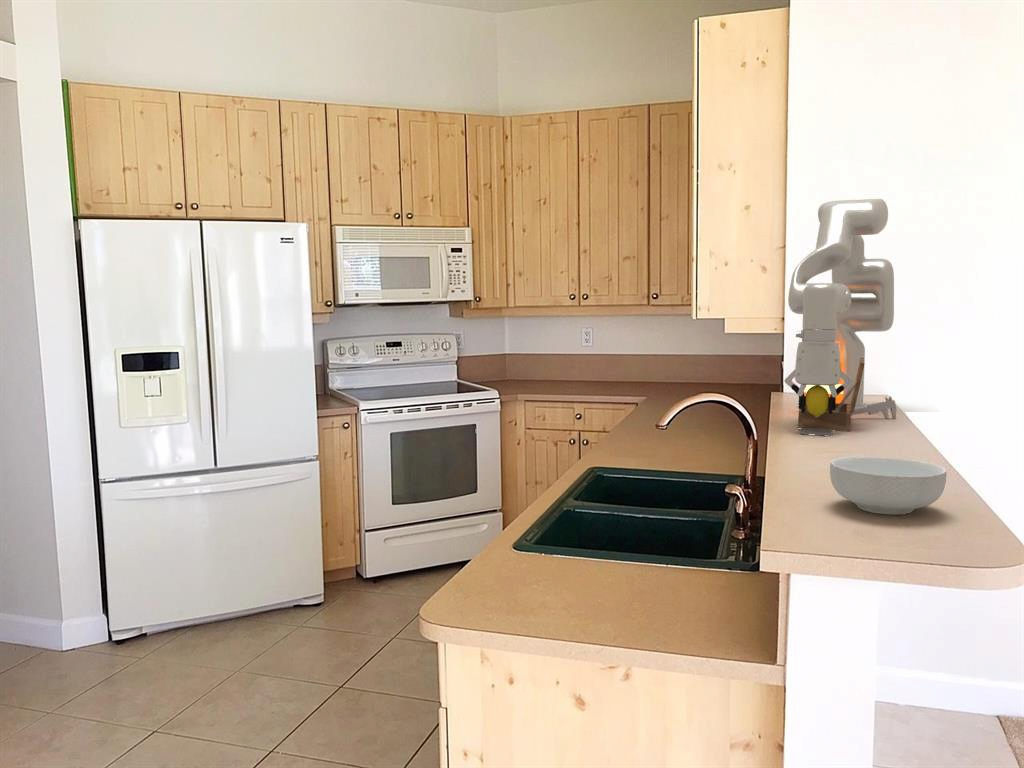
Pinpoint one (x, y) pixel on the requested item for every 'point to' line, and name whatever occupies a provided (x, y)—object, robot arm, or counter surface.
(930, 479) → the cereal bowl
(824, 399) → the lemon
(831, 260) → the robot arm
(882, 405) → the caliper
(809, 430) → the coaster
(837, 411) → the case
